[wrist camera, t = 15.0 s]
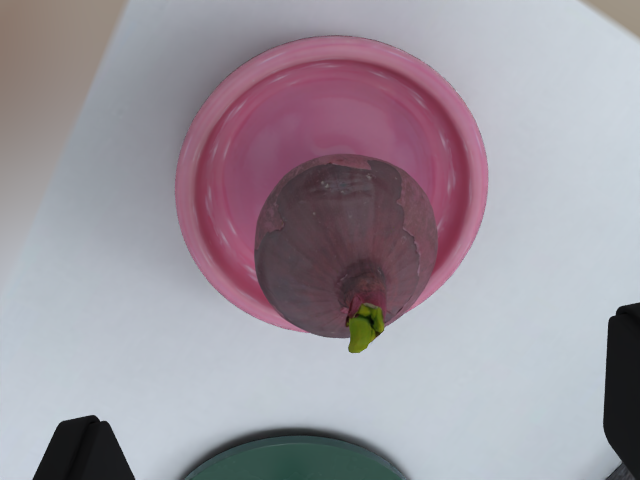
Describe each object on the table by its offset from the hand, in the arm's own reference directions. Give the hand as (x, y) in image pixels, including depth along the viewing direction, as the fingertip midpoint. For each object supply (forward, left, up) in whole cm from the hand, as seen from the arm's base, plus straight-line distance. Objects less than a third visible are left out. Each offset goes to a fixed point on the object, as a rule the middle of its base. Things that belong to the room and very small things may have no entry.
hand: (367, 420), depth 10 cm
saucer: (+1, 0, -16) cm, 16 cm away
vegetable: (+1, 0, -13) cm, 13 cm away
